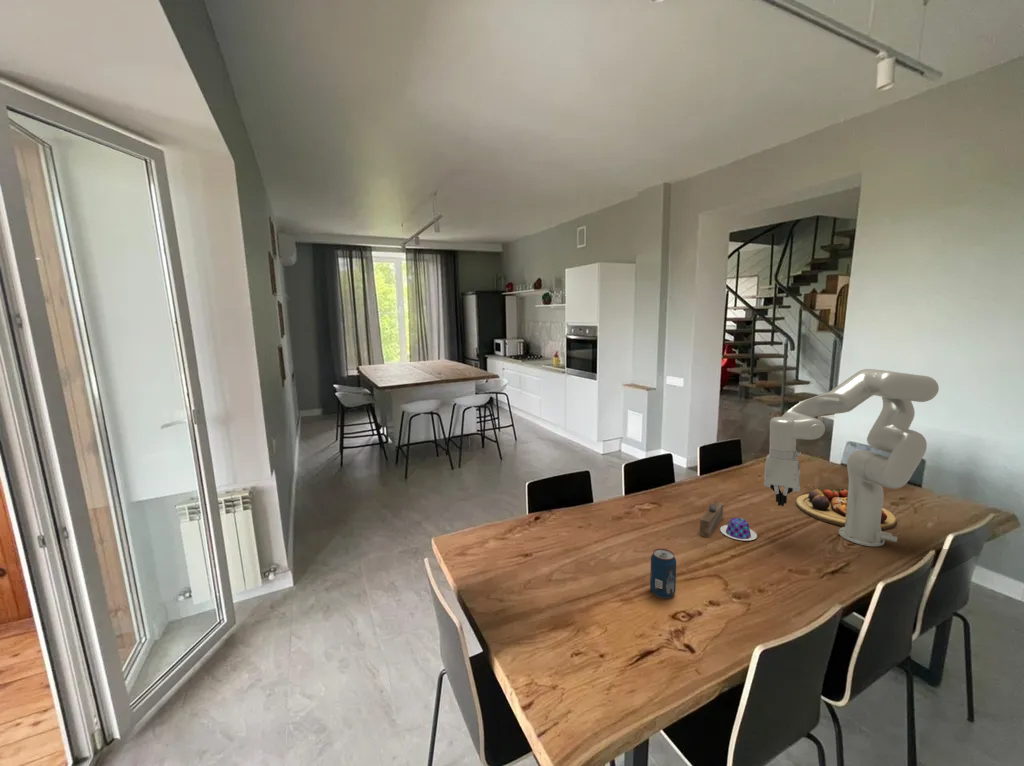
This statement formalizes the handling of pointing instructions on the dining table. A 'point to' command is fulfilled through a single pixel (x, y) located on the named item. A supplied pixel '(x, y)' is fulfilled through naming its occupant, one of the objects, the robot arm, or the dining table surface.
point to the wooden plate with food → (834, 507)
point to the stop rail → (711, 519)
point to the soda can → (663, 573)
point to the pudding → (738, 530)
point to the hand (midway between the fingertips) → (781, 504)
